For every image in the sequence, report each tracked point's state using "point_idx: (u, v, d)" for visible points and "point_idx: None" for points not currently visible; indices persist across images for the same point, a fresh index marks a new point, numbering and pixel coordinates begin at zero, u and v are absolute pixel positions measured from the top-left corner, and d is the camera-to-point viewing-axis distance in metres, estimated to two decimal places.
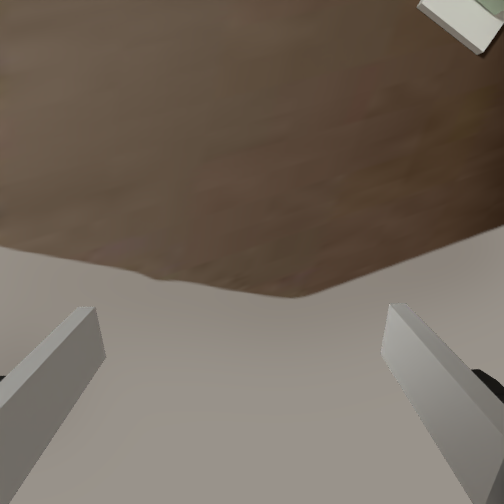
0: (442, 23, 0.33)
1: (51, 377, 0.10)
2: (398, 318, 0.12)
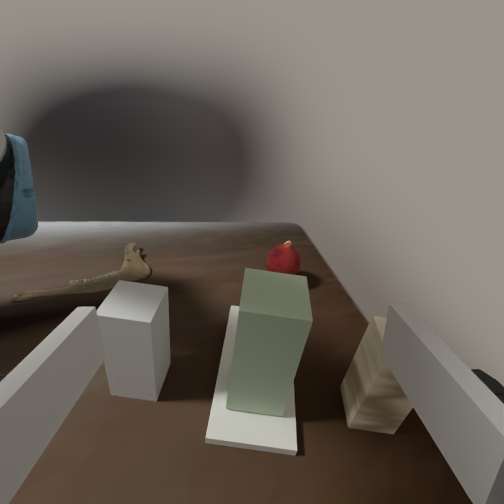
0: (238, 445, 0.29)
1: (51, 377, 0.10)
2: (398, 319, 0.12)
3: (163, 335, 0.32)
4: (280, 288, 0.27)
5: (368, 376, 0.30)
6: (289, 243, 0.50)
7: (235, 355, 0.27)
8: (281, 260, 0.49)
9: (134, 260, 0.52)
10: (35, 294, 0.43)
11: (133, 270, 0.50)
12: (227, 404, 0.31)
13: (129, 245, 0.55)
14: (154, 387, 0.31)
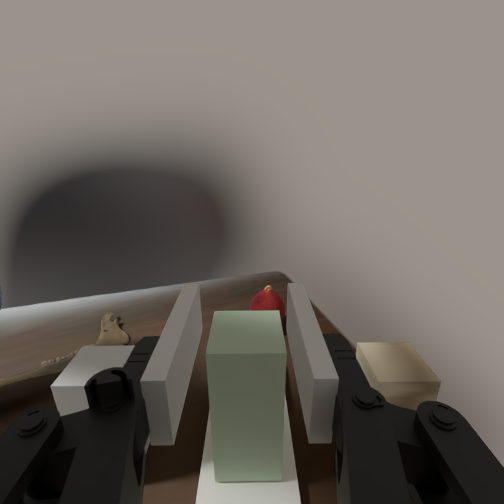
0: None
1: (187, 337, 0.12)
2: (290, 295, 0.14)
3: None
4: (251, 326, 0.26)
5: None
6: (269, 287, 0.49)
7: (213, 410, 0.24)
8: (263, 306, 0.48)
9: (111, 330, 0.50)
10: (2, 382, 0.40)
11: (110, 340, 0.48)
12: (216, 475, 0.27)
13: (106, 316, 0.53)
14: None
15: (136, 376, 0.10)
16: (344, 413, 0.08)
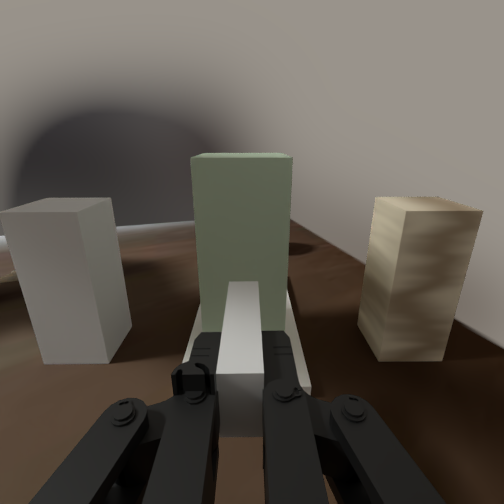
0: None
1: None
2: (243, 293, 0.15)
3: (110, 265, 0.24)
4: (248, 154, 0.21)
5: (388, 267, 0.22)
6: None
7: (200, 246, 0.20)
8: None
9: None
10: None
11: None
12: None
13: None
14: (101, 336, 0.23)
15: None
16: (264, 410, 0.08)
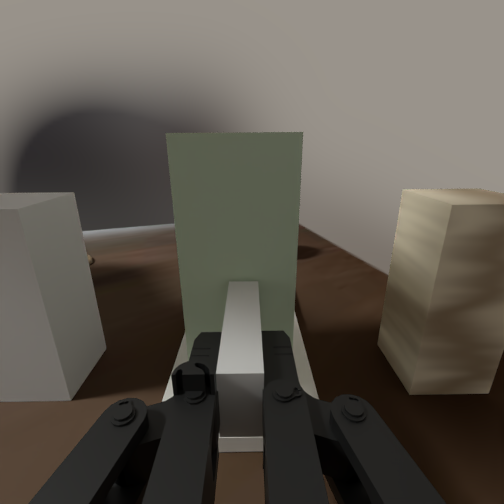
0: None
1: None
2: (243, 293, 0.15)
3: (74, 276, 0.19)
4: None
5: (423, 277, 0.17)
6: None
7: (182, 251, 0.15)
8: None
9: None
10: None
11: None
12: None
13: None
14: (60, 368, 0.18)
15: None
16: (264, 410, 0.08)
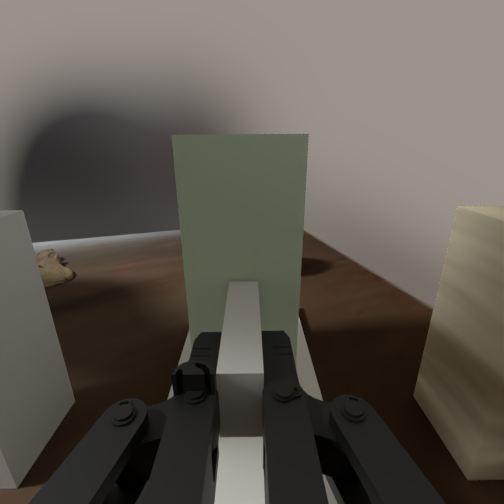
0: None
1: None
2: (243, 293, 0.15)
3: (22, 322, 0.14)
4: None
5: (495, 329, 0.12)
6: None
7: (187, 252, 0.15)
8: None
9: (48, 266, 0.37)
10: None
11: (45, 275, 0.35)
12: None
13: (42, 252, 0.40)
14: None
15: None
16: (264, 410, 0.08)
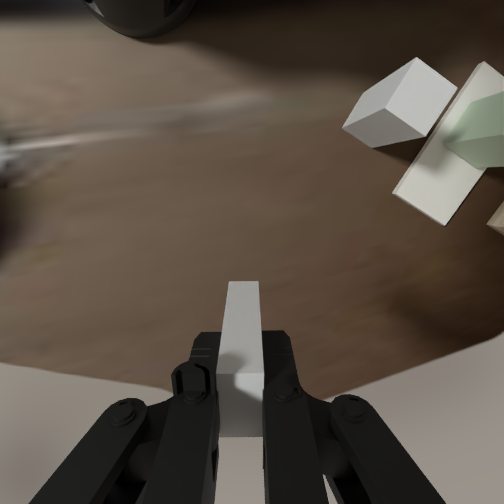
0: (412, 205, 0.42)
1: None
2: (243, 293, 0.15)
3: None
4: None
5: None
6: None
7: (498, 136, 0.32)
8: None
9: None
10: None
11: None
12: (447, 144, 0.39)
13: None
14: (379, 145, 0.38)
15: None
16: (264, 410, 0.08)
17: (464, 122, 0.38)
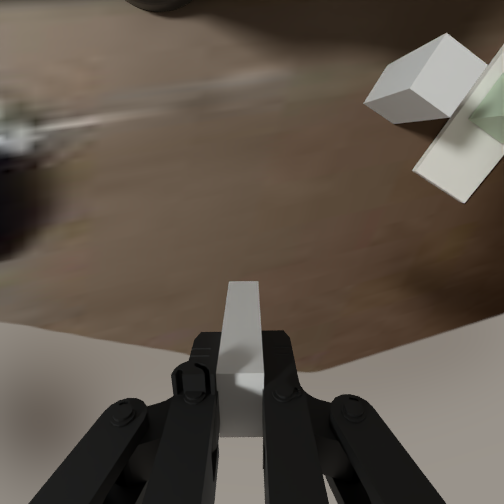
0: (432, 183, 0.42)
1: None
2: (243, 293, 0.15)
3: None
4: None
5: None
6: None
7: None
8: None
9: None
10: None
11: None
12: (473, 119, 0.38)
13: None
14: (401, 122, 0.38)
15: None
16: (264, 410, 0.08)
17: (493, 96, 0.36)
